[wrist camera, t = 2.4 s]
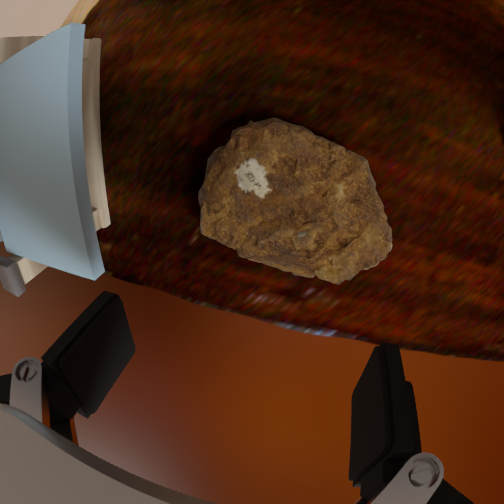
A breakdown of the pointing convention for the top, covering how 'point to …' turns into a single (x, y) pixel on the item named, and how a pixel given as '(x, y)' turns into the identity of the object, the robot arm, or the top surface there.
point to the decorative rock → (294, 202)
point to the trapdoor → (46, 156)
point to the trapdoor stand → (22, 269)
